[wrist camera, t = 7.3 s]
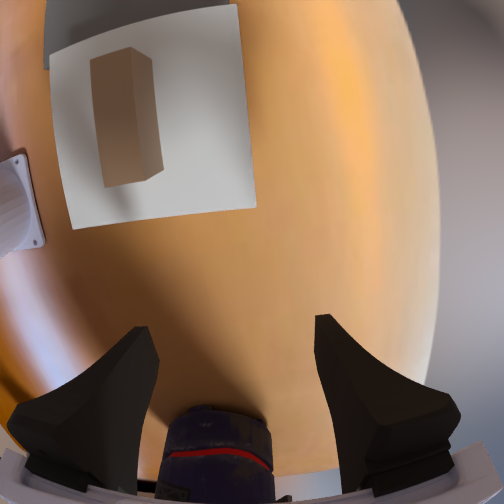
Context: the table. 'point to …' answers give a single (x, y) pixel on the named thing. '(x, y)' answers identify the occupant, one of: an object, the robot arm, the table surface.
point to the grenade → (217, 460)
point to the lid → (154, 119)
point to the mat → (103, 18)
